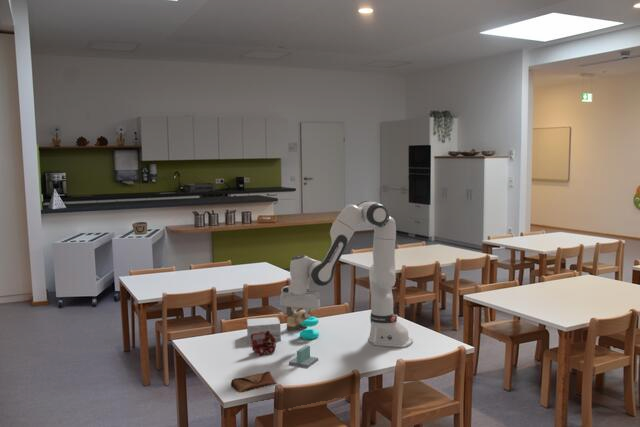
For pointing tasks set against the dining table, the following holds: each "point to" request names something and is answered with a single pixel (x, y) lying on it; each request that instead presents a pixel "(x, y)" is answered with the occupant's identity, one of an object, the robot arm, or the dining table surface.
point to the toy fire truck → (263, 343)
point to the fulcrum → (303, 358)
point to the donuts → (309, 332)
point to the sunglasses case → (252, 382)
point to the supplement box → (264, 327)
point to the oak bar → (298, 317)
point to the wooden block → (299, 326)
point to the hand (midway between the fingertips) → (300, 316)
